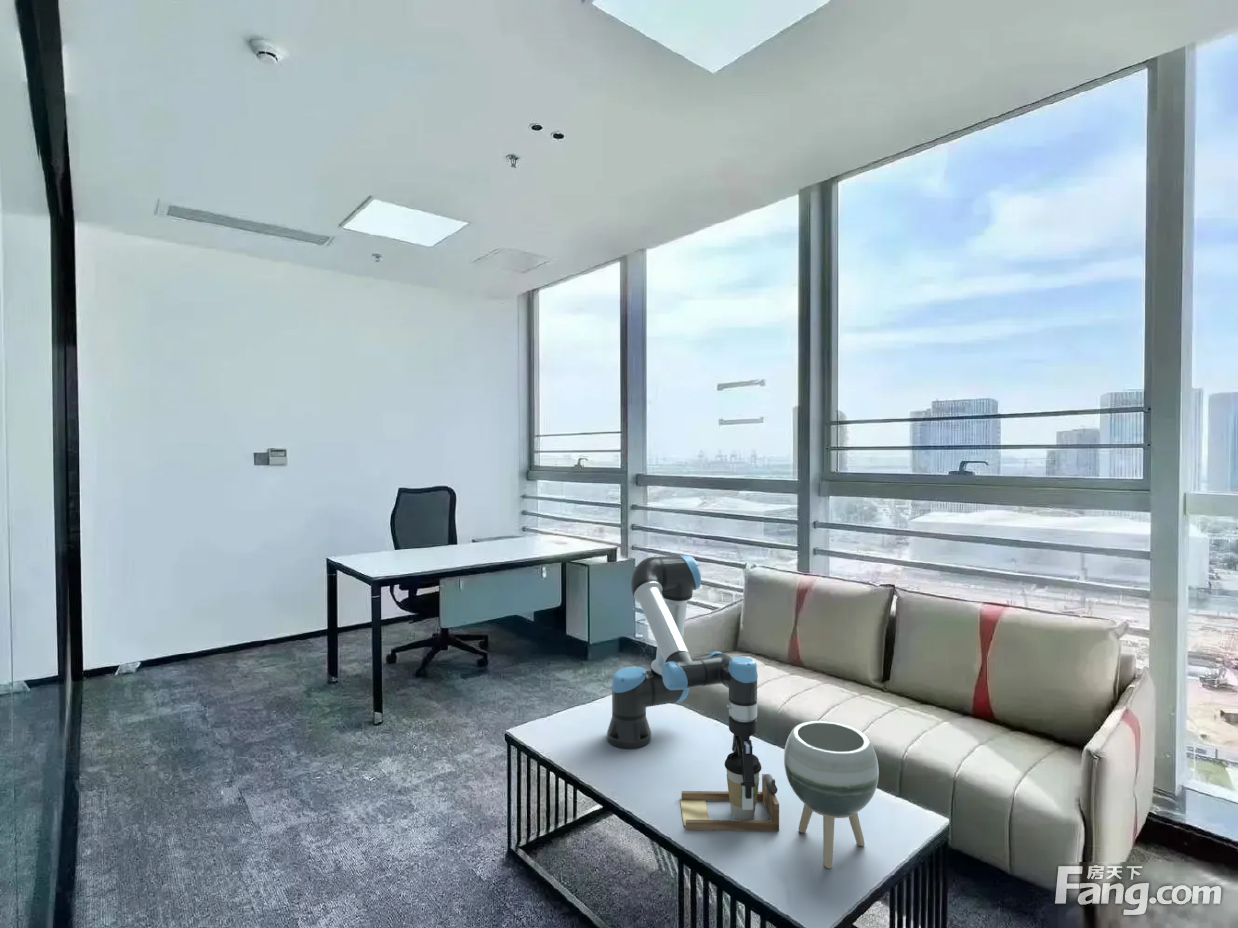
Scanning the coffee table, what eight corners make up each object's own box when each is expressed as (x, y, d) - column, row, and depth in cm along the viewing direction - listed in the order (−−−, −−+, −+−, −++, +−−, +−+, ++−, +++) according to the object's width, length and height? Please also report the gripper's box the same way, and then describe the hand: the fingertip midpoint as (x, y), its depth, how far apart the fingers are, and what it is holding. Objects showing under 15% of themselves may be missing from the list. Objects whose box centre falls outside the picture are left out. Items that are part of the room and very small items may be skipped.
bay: (679, 797, 175) (679, 758, 175) (768, 798, 174) (768, 758, 174) (684, 829, 160) (684, 786, 160) (781, 830, 159) (781, 787, 159)
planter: (826, 888, 138) (826, 765, 138) (765, 833, 158) (765, 725, 158) (899, 862, 147) (899, 746, 147) (832, 813, 167) (832, 711, 167)
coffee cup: (761, 826, 161) (761, 769, 161) (723, 822, 163) (723, 765, 163) (761, 805, 171) (761, 751, 171) (725, 801, 173) (725, 748, 173)
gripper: (722, 698, 179) (722, 770, 180) (736, 737, 154) (736, 821, 155) (748, 698, 179) (748, 770, 179) (766, 737, 154) (766, 821, 155)
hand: (742, 794), depth 167 cm, fingers open, 13 cm apart
